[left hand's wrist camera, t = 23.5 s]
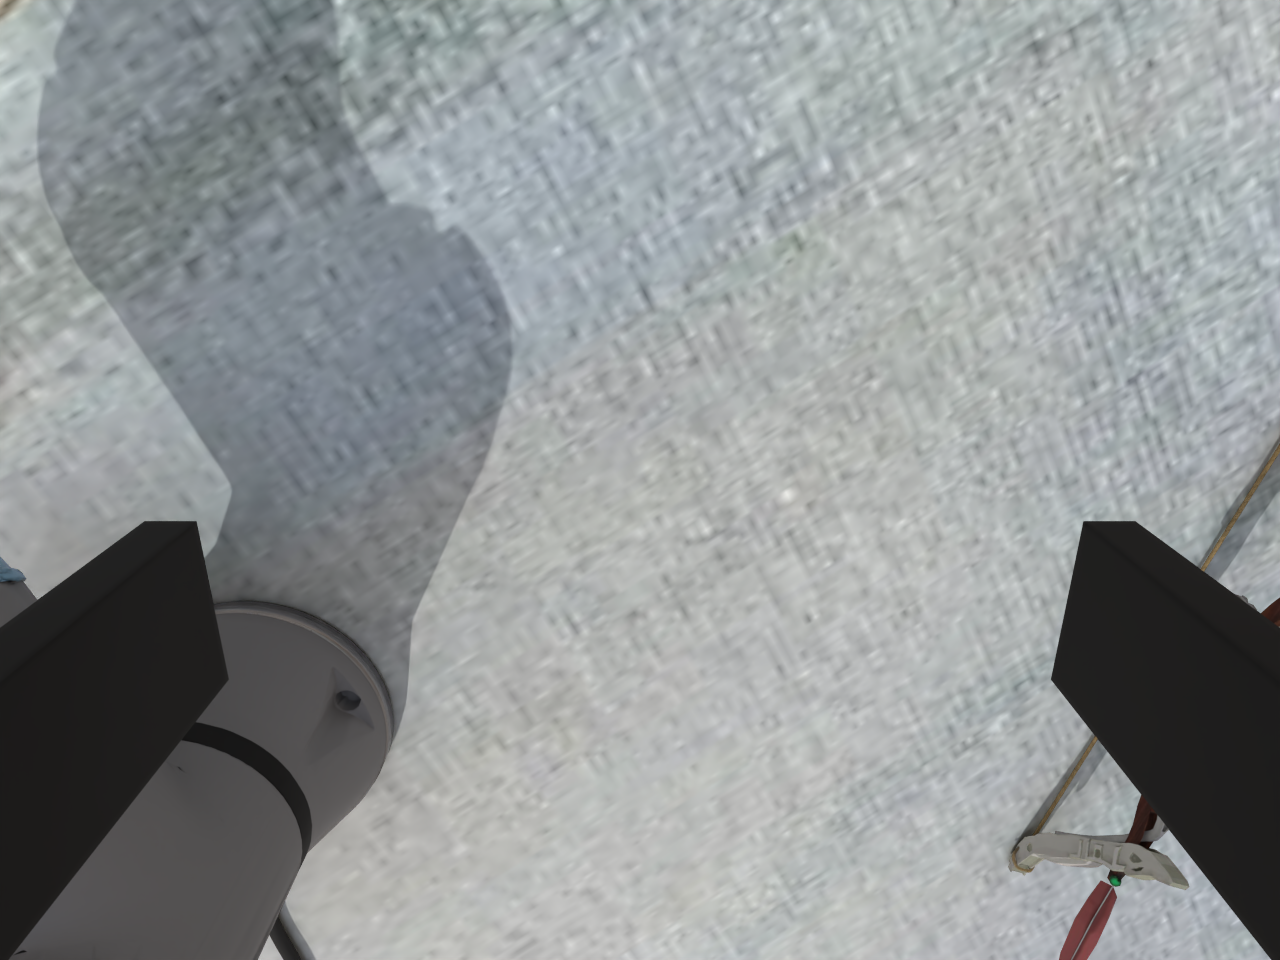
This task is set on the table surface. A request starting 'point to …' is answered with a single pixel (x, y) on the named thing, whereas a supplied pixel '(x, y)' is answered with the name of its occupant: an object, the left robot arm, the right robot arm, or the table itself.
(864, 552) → the table surface
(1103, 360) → the table surface
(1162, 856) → the bow
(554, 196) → the table surface
